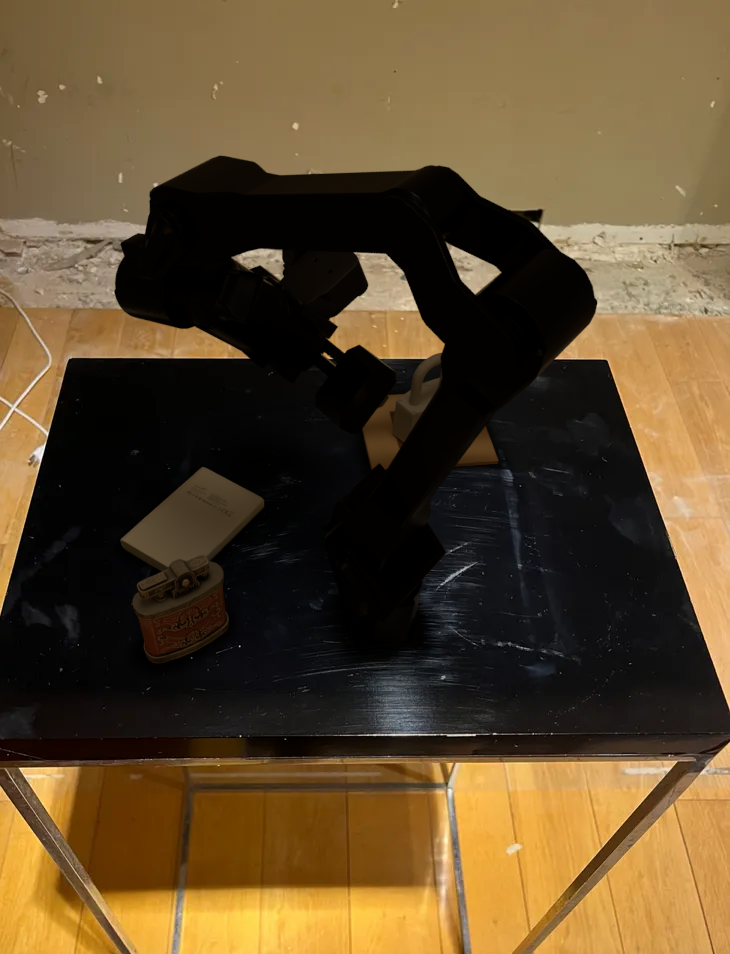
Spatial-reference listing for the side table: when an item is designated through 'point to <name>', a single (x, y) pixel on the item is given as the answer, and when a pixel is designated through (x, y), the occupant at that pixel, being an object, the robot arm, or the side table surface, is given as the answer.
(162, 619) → the lighter
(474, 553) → the side table surface
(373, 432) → the board
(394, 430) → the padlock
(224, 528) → the hard drive
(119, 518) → the side table surface
